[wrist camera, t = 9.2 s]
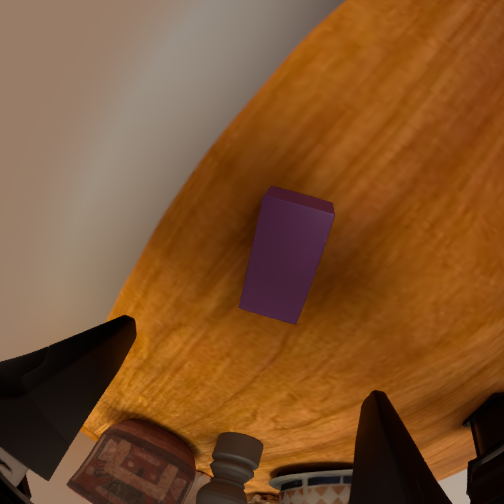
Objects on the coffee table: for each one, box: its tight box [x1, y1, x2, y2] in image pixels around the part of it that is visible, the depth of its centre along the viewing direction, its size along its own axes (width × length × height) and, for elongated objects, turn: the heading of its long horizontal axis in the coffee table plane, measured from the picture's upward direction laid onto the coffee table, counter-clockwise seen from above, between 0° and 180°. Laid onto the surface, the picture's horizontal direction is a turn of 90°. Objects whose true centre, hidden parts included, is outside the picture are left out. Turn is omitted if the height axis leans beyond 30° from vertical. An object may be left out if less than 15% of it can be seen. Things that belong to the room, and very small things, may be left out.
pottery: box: [67, 419, 196, 504], centre depth 29 cm, size 18×18×18 cm
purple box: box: [239, 186, 335, 325], centre depth 17 cm, size 8×4×2 cm, turn 169°
